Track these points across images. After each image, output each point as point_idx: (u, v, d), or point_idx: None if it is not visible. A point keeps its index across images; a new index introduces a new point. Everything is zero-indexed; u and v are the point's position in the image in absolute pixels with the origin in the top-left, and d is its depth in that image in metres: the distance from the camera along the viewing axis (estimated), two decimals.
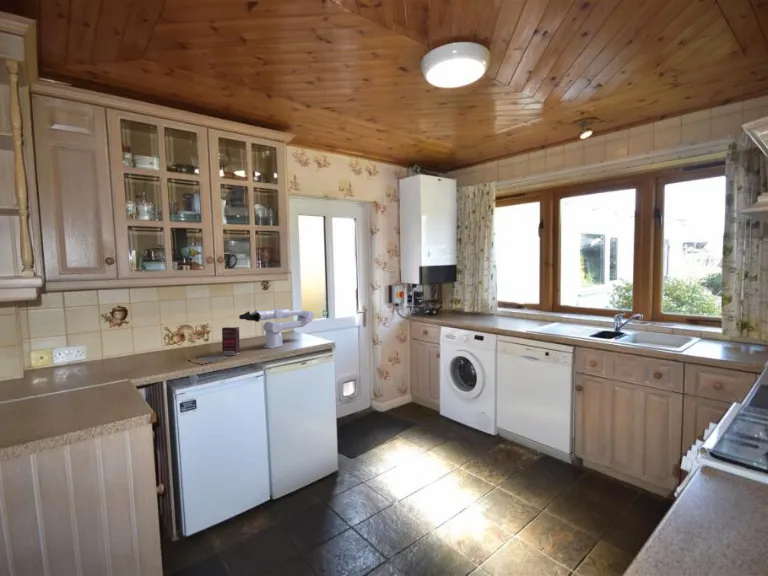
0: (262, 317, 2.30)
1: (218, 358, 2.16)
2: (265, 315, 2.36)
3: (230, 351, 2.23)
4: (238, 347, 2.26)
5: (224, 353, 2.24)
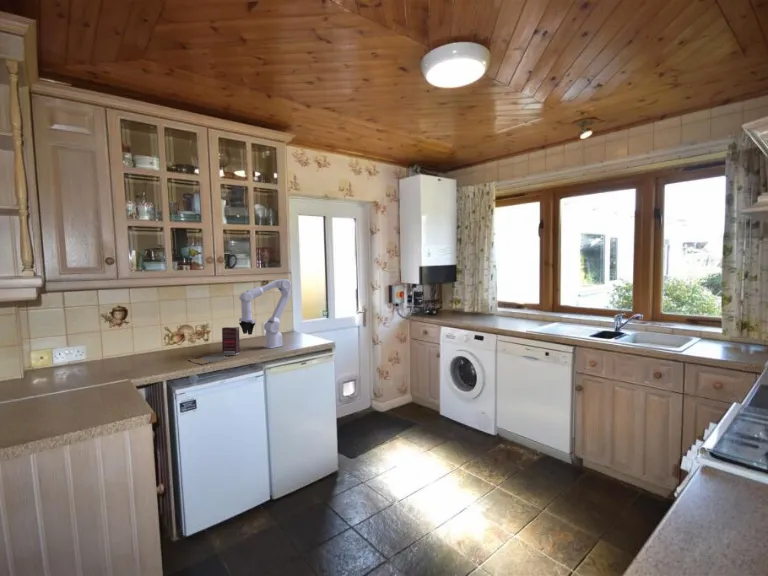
0: (253, 321, 2.29)
1: (218, 358, 2.16)
2: (248, 312, 2.31)
3: (230, 351, 2.23)
4: (238, 347, 2.26)
5: (224, 353, 2.24)
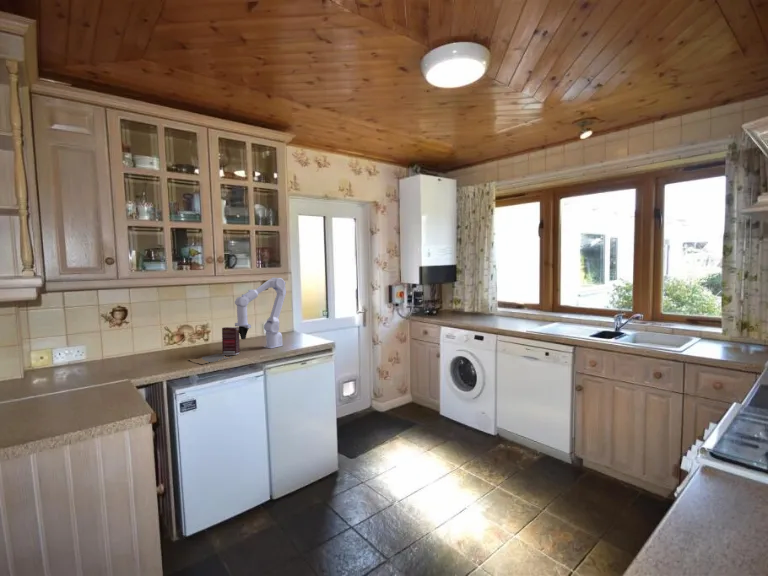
0: (249, 326, 2.27)
1: (218, 358, 2.16)
2: (244, 317, 2.29)
3: (230, 351, 2.23)
4: (238, 347, 2.26)
5: (224, 353, 2.24)
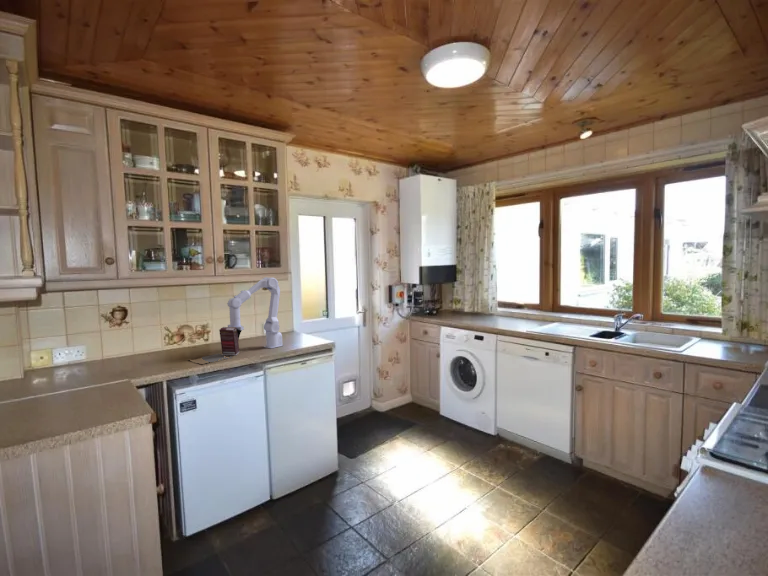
0: (242, 328, 2.23)
1: (218, 358, 2.16)
2: (237, 319, 2.25)
3: (230, 352, 2.23)
4: (237, 347, 2.25)
5: (224, 353, 2.23)
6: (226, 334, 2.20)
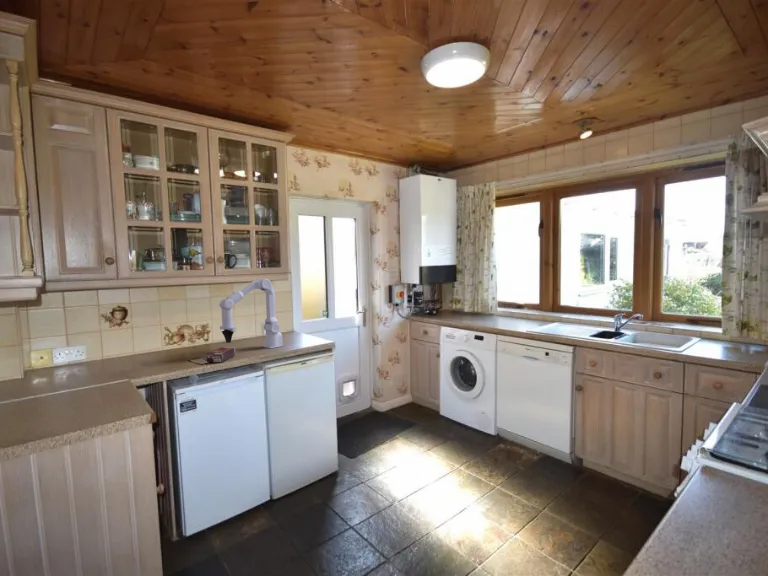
0: (234, 329, 2.19)
1: None
2: (229, 320, 2.21)
3: None
4: (232, 351, 2.19)
5: None
6: None
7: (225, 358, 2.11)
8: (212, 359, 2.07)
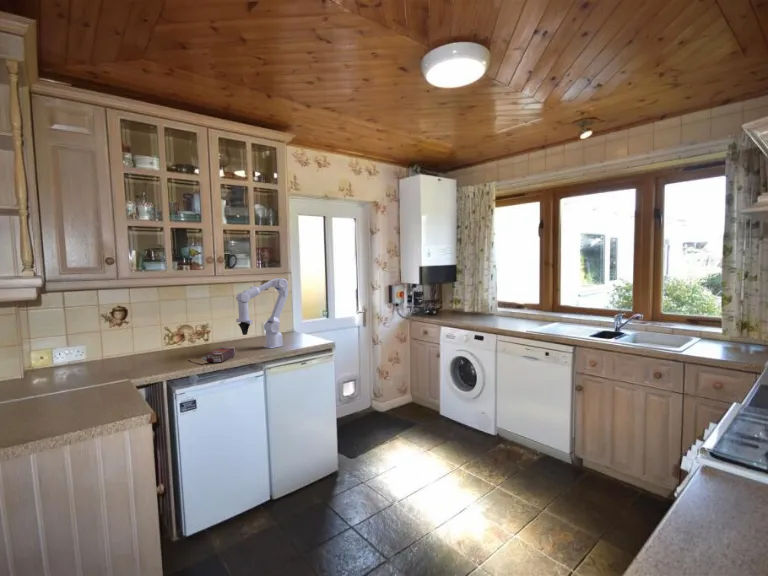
0: (251, 321, 2.27)
1: None
2: (245, 313, 2.29)
3: None
4: (231, 351, 2.19)
5: None
6: None
7: (225, 358, 2.11)
8: (212, 359, 2.07)
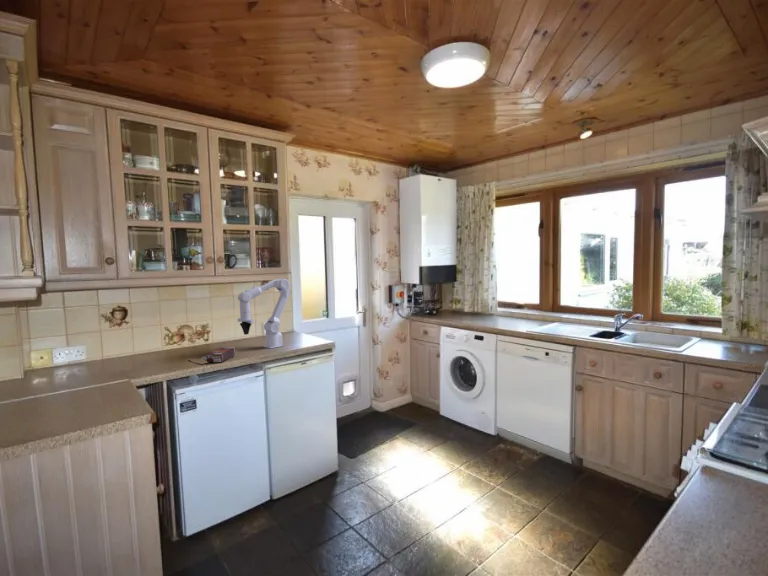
0: (252, 321, 2.28)
1: None
2: (247, 312, 2.30)
3: None
4: (231, 351, 2.19)
5: None
6: None
7: (225, 358, 2.11)
8: (212, 359, 2.07)
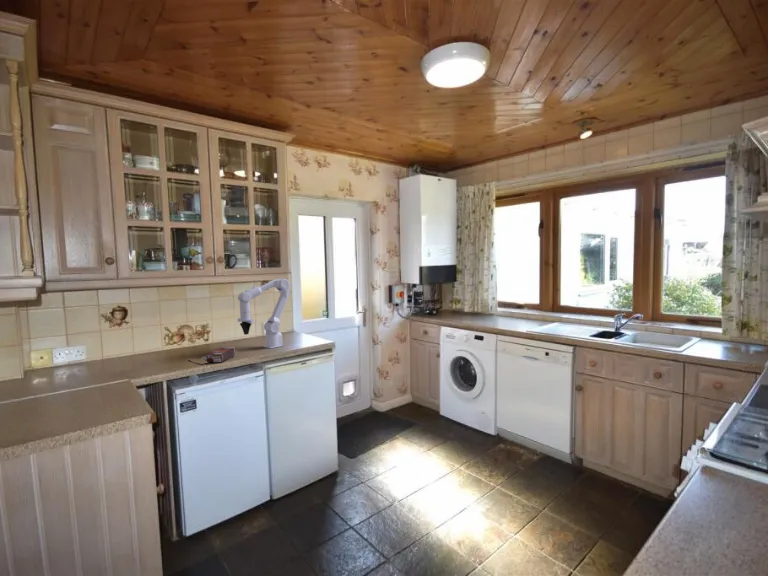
0: (252, 321, 2.28)
1: None
2: (247, 312, 2.30)
3: None
4: (231, 351, 2.19)
5: None
6: None
7: (225, 358, 2.11)
8: (212, 359, 2.07)
